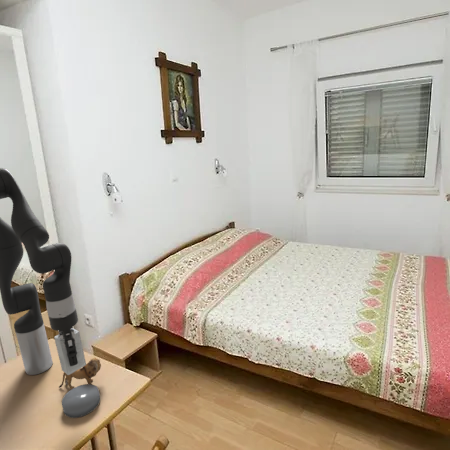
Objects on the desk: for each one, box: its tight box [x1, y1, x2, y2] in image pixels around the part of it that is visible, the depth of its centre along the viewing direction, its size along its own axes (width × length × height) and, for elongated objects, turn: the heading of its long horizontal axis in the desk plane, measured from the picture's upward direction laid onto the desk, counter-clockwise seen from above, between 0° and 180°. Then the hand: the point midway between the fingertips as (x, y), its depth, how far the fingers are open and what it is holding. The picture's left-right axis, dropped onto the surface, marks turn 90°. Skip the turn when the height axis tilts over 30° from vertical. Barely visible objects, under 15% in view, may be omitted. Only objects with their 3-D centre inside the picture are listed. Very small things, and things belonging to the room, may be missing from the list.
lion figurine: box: [58, 357, 102, 390], centre depth 118 cm, size 15×5×9 cm, turn 103°
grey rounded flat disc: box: [61, 383, 101, 419], centre depth 110 cm, size 11×11×3 cm
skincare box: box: [53, 327, 87, 375], centre depth 105 cm, size 6×4×12 cm
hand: (72, 359), depth 106 cm, fingers closed on skincare box, 5 cm apart
